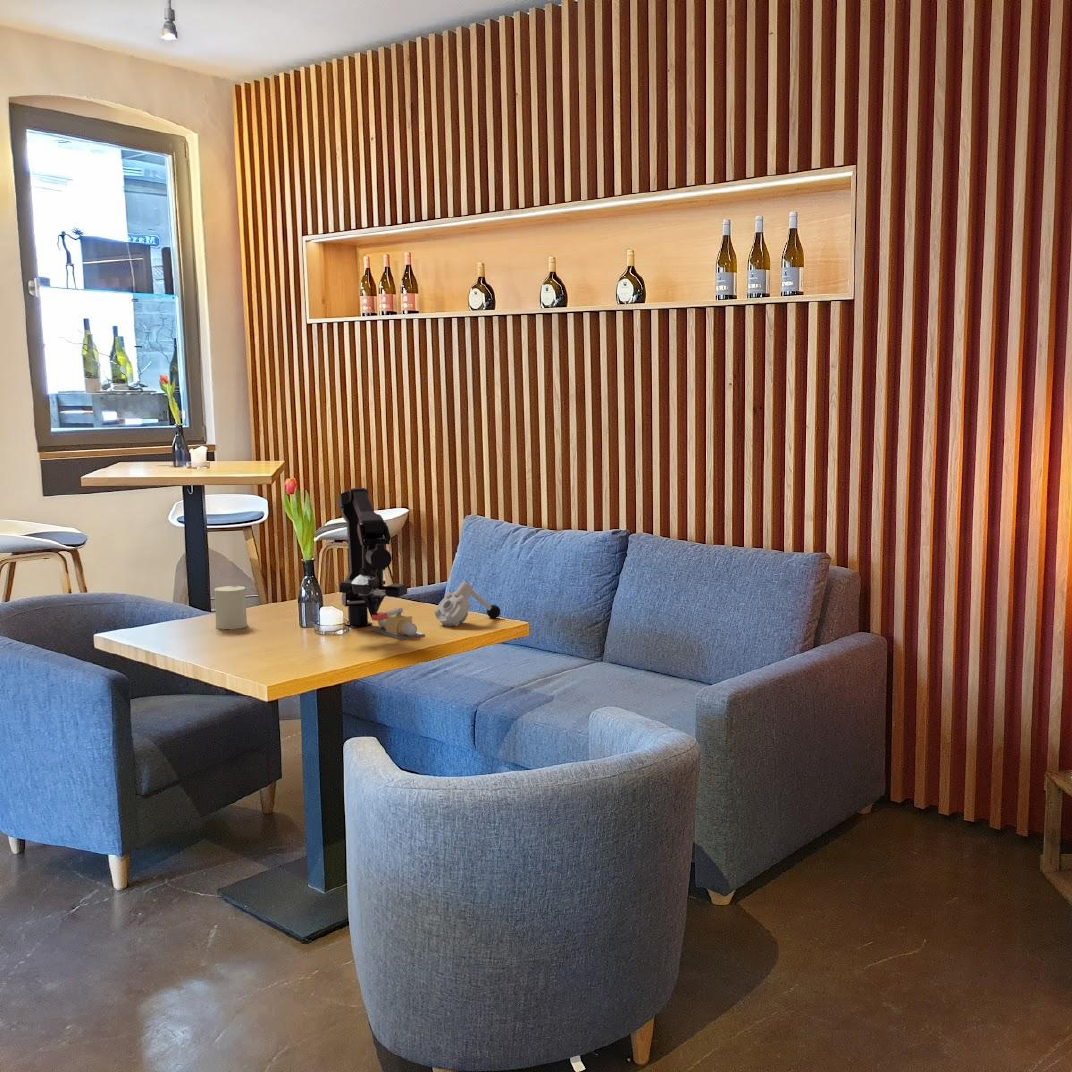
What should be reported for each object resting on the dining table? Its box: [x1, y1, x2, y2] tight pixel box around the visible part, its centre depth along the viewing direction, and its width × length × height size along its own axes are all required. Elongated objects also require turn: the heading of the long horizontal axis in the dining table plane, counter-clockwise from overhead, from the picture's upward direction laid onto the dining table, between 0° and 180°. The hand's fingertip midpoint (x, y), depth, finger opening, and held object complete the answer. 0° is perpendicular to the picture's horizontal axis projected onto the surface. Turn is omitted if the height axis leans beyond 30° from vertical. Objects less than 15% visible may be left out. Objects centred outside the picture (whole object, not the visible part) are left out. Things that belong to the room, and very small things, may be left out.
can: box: [213, 585, 248, 630], centre depth 336 cm, size 9×9×12 cm
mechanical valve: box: [433, 581, 501, 627], centre depth 339 cm, size 10×18×15 cm
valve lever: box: [371, 607, 404, 622], centre depth 318 cm, size 13×2×2 cm, turn 154°
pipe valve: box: [370, 612, 426, 641], centre depth 323 cm, size 17×8×6 cm, turn 37°
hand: (373, 618), depth 315 cm, fingers closed
